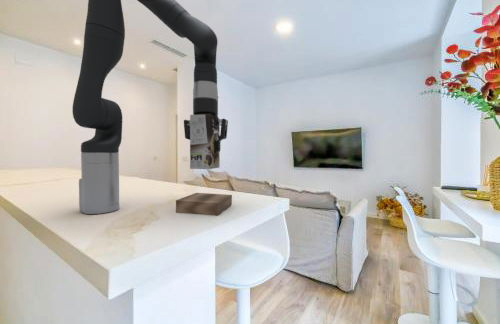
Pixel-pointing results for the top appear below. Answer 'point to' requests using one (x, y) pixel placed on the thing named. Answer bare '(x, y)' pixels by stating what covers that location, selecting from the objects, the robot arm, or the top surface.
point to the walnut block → (204, 204)
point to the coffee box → (203, 142)
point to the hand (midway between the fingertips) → (205, 153)
